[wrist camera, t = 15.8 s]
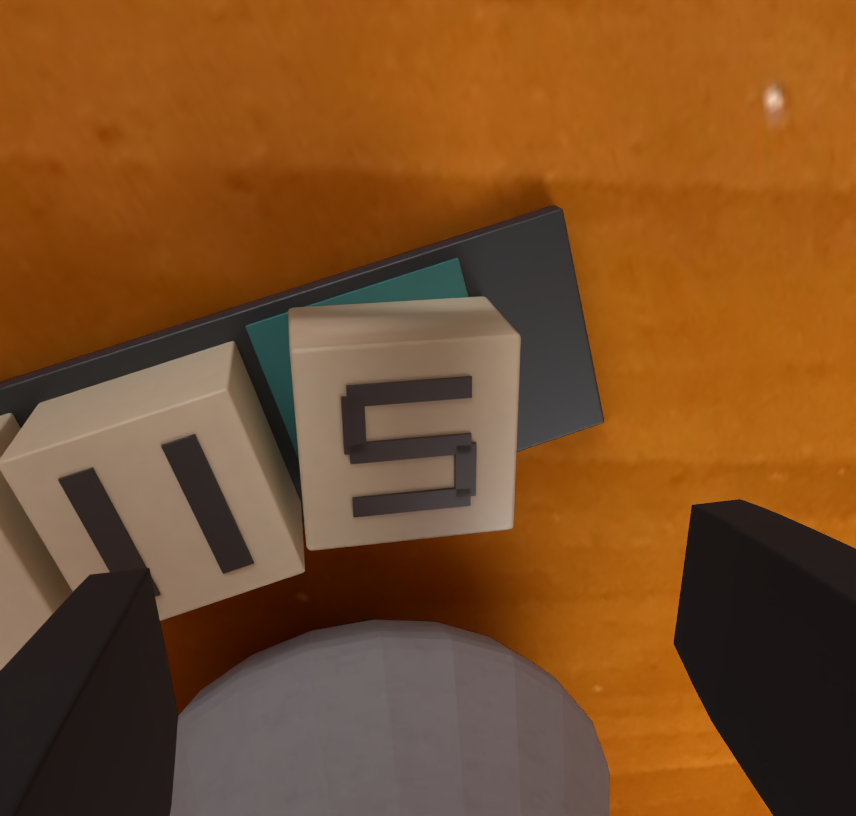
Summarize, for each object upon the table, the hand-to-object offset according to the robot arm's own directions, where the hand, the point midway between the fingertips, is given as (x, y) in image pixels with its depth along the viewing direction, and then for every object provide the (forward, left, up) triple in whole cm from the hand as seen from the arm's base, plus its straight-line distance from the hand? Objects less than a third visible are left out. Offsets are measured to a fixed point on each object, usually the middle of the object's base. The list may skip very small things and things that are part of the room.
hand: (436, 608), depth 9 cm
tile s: (0, -1, -8) cm, 8 cm away
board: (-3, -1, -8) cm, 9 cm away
